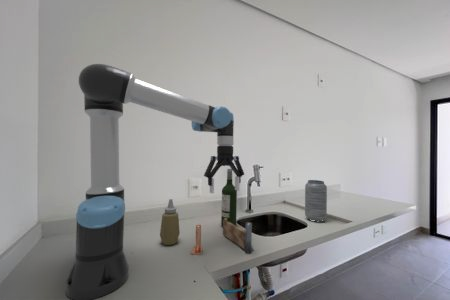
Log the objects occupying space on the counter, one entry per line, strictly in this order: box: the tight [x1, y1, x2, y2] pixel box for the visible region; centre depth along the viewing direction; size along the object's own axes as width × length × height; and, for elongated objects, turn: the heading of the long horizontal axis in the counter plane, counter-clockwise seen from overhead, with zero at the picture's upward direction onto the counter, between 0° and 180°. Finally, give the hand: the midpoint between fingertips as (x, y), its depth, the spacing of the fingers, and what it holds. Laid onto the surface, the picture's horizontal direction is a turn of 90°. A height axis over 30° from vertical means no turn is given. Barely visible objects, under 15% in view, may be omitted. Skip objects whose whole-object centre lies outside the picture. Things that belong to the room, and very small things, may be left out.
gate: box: [222, 218, 246, 249], centre depth 83 cm, size 16×2×7 cm, turn 32°
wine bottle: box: [220, 168, 238, 228], centre depth 102 cm, size 8×8×30 cm
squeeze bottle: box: [159, 199, 181, 246], centre depth 82 cm, size 8×8×18 cm
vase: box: [304, 179, 328, 221], centre depth 115 cm, size 12×12×23 cm
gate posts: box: [190, 221, 255, 256], centre depth 76 cm, size 24×7×11 cm, turn 92°
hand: (224, 191), depth 90 cm, fingers open, 13 cm apart
